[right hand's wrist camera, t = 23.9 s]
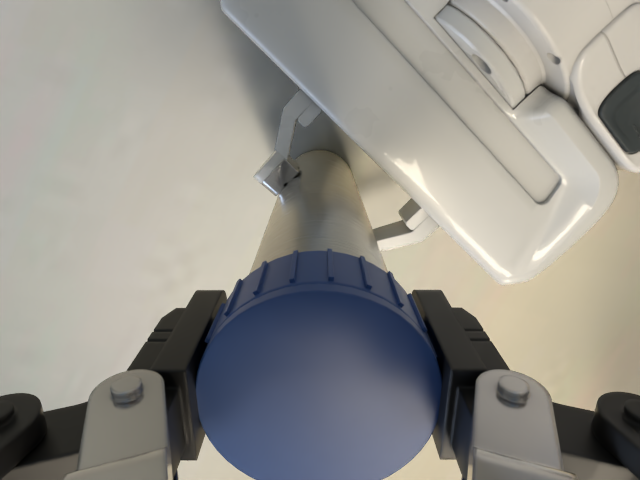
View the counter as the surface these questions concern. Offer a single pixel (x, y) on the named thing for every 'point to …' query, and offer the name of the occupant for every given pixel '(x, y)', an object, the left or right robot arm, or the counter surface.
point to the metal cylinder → (319, 213)
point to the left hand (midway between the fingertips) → (308, 222)
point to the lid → (318, 372)
